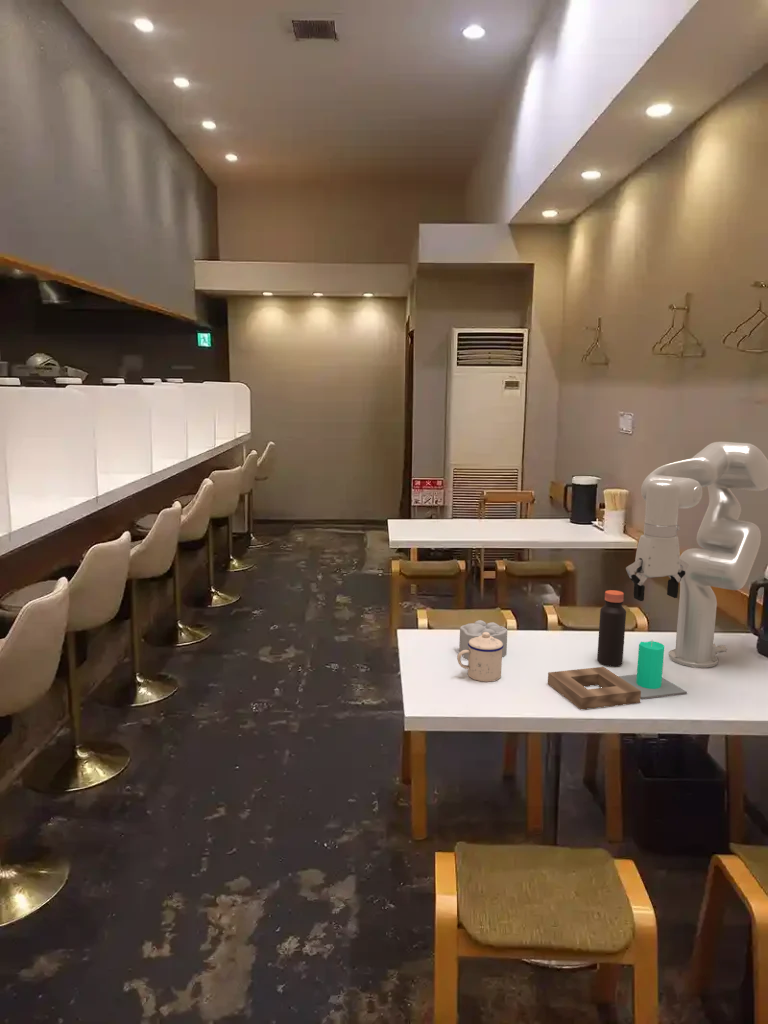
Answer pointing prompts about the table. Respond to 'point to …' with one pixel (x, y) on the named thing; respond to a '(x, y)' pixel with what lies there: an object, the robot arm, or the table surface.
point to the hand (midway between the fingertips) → (655, 598)
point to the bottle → (611, 630)
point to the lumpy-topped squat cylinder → (477, 630)
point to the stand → (583, 698)
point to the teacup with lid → (483, 658)
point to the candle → (650, 664)
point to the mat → (663, 691)
